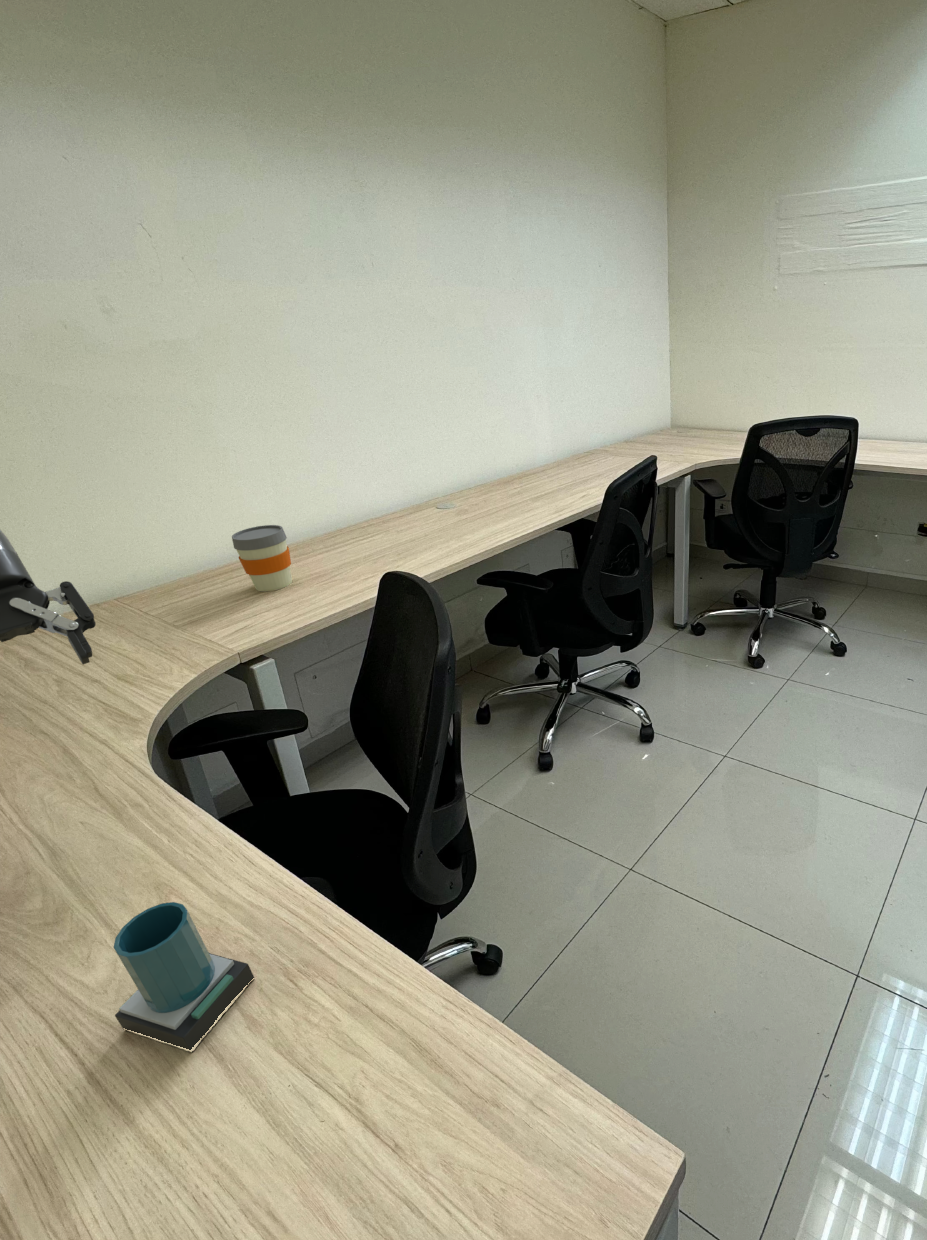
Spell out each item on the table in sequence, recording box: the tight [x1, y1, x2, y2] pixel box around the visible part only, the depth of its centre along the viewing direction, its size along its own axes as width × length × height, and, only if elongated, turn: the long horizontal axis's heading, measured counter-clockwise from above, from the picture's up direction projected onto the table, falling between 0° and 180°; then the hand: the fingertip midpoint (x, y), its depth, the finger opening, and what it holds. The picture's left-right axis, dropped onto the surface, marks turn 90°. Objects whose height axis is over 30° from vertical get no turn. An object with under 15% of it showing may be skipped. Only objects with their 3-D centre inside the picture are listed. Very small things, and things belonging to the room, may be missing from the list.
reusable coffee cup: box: [231, 524, 293, 592], centre depth 172 cm, size 13×12×15 cm
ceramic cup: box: [113, 901, 215, 1013], centre depth 65 cm, size 6×6×8 cm
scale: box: [114, 952, 255, 1050], centre depth 67 cm, size 9×8×3 cm
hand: (41, 676), depth 75 cm, fingers open, 8 cm apart
